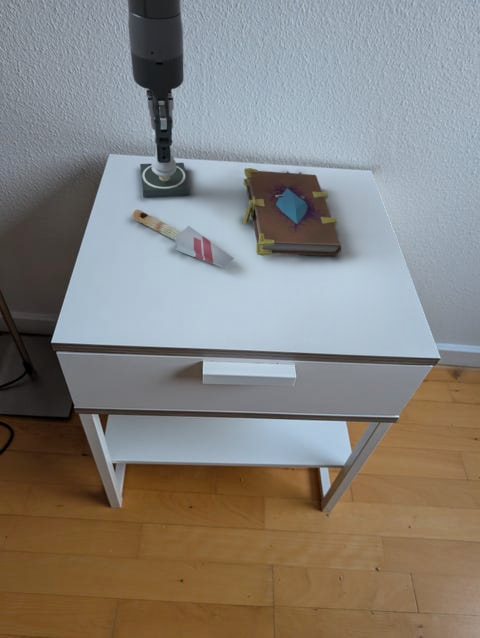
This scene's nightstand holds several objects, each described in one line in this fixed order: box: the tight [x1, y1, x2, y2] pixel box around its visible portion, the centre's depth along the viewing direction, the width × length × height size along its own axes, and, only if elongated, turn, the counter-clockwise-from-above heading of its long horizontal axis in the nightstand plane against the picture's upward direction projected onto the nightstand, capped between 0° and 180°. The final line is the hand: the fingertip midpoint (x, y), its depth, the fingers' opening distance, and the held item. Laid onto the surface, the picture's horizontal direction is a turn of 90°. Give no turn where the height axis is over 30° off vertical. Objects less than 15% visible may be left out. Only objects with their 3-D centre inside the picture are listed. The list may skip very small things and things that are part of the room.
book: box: [242, 167, 342, 257], centre depth 78 cm, size 16×25×5 cm, turn 6°
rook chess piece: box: [151, 129, 177, 177], centre depth 74 cm, size 4×4×8 cm
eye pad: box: [159, 176, 170, 181], centre depth 79 cm, size 2×2×1 cm
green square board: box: [139, 162, 190, 198], centre depth 81 cm, size 8×8×2 cm
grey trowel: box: [131, 209, 235, 269], centre depth 71 cm, size 4×3×20 cm
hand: (163, 154), depth 75 cm, fingers closed on rook chess piece, 3 cm apart
